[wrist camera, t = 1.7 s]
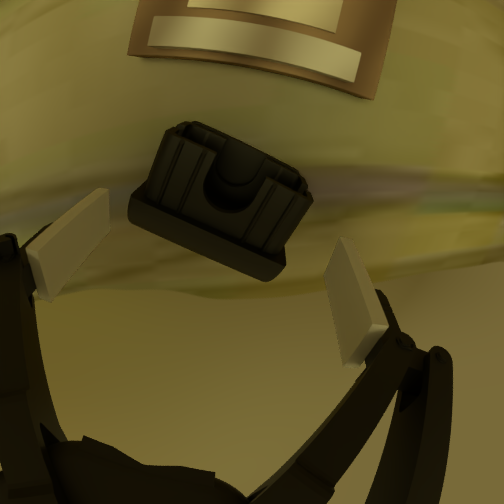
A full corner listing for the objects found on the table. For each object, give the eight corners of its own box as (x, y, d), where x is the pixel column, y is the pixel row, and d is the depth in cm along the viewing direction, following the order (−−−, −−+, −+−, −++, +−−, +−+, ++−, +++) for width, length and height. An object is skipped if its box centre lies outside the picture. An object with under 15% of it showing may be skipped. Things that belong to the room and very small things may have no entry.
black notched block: (153, 196, 22) (117, 238, 16) (185, 115, 19) (151, 130, 13) (263, 246, 24) (262, 301, 19) (307, 175, 21) (324, 213, 15)
